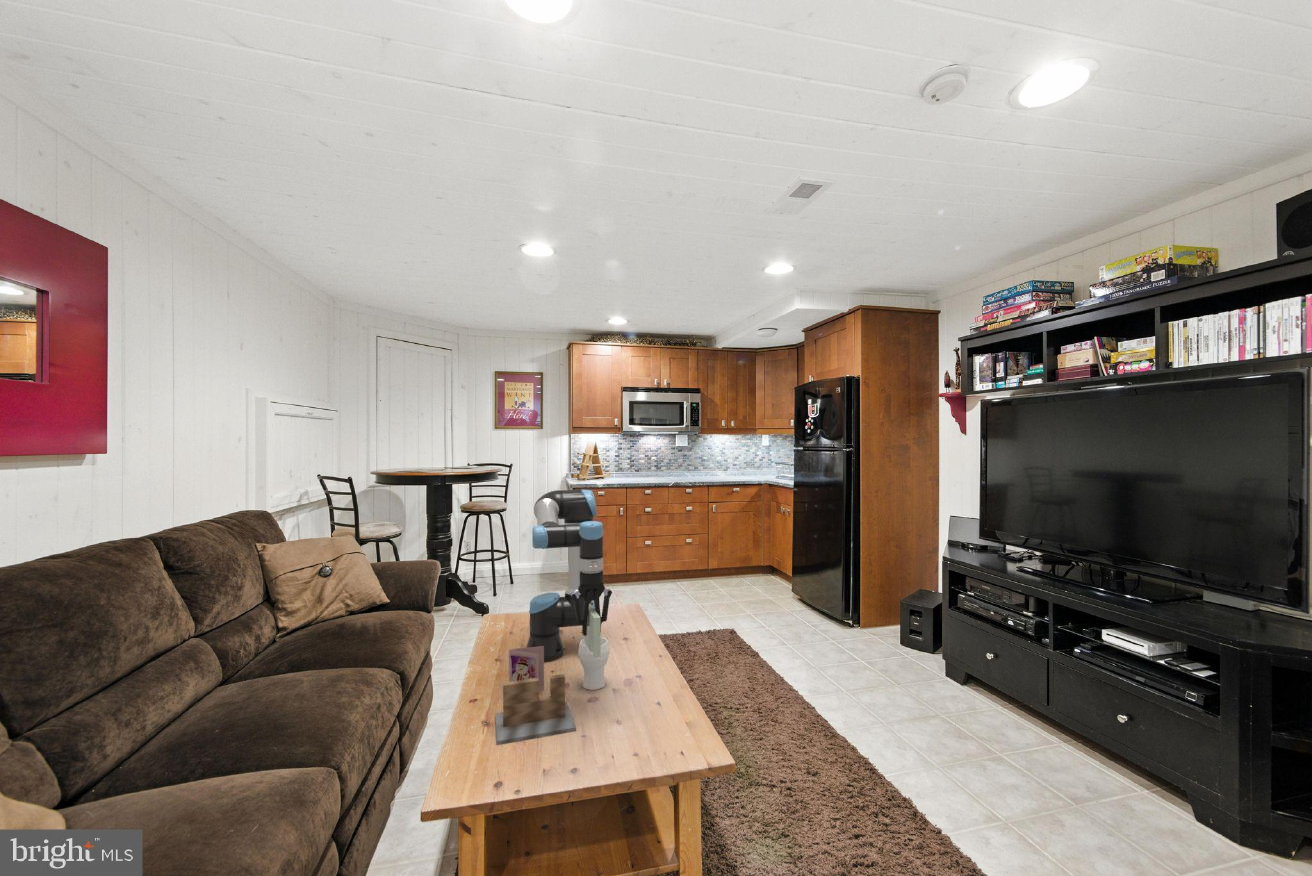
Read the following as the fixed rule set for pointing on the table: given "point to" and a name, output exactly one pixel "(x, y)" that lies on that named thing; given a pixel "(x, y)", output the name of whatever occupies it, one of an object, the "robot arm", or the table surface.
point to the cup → (593, 665)
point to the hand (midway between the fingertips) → (591, 644)
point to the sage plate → (594, 632)
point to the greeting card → (527, 664)
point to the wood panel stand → (533, 711)
